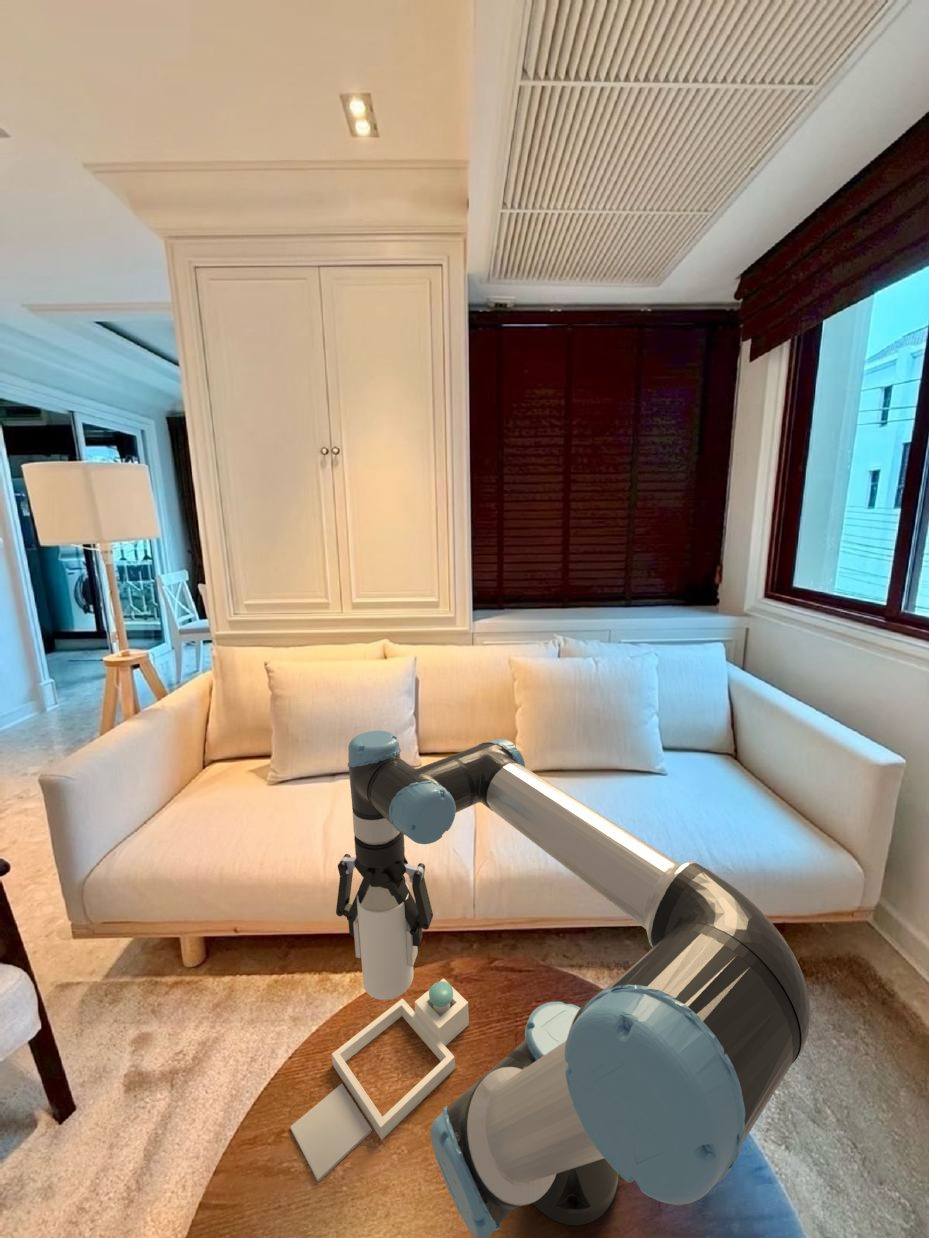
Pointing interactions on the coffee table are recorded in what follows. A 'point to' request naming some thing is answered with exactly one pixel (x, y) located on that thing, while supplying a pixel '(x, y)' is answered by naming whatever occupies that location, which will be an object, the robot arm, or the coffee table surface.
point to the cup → (383, 944)
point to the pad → (330, 1131)
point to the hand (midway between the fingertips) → (386, 954)
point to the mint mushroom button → (441, 997)
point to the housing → (430, 1030)
